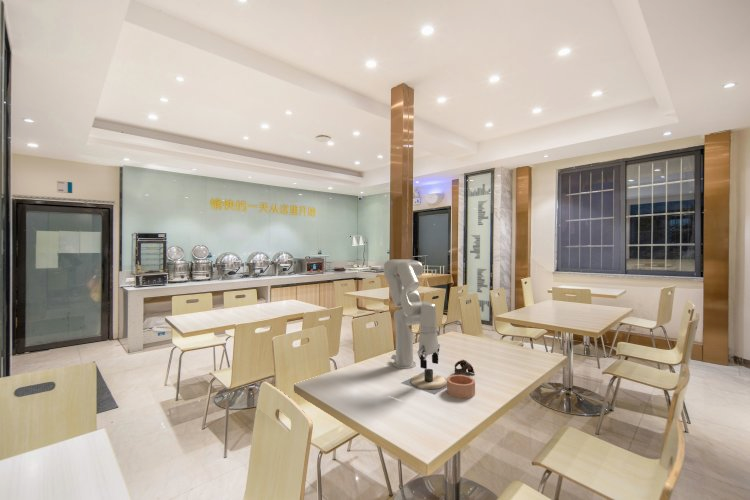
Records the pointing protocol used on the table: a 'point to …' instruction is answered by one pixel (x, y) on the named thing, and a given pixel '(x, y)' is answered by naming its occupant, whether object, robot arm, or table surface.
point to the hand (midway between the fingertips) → (429, 365)
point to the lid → (428, 380)
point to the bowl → (460, 386)
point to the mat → (408, 382)
